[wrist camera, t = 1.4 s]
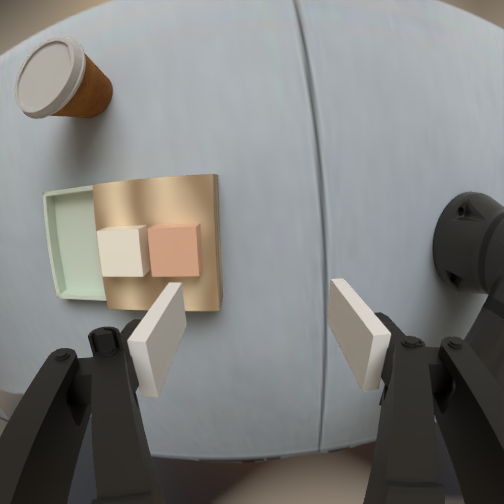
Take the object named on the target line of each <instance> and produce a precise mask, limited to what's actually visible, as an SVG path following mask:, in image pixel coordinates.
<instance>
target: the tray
mask: <svg viewBox="0 0 504 504" xmlns="http://www.w3.org/2000/svg"><path fill="white" fill-rule="evenodd" d="M43 206H44V217H45V227H46V235H47V243H48V250H49V256H50V262H51V268H52V273H53V279H54V284H55V288H56V293H57V297H58V298H64V299H82V300H103V301H106V296H105V290H104V285H103V279H102V272H101V266H100V259H99V251H98V244H97V235H96V225H95V214H94V201H93V185H89V186H82V187H75V188H68V189H61V190H55V191H49V192H43Z"/></svg>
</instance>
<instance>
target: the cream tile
mask: <svg viewBox="0 0 504 504" xmlns="http://www.w3.org/2000/svg"><path fill="white" fill-rule="evenodd" d="M97 240H98V248H99V256H100V263H101V270H102V276H103V277H143V276H145V275H146V274H147V273H148V272H149V271H150V270H151V269H150V260H149V250H148V240H147V228H146V225H139V226H120V227H106V228H103V229H101V230H98V231H97Z"/></svg>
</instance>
